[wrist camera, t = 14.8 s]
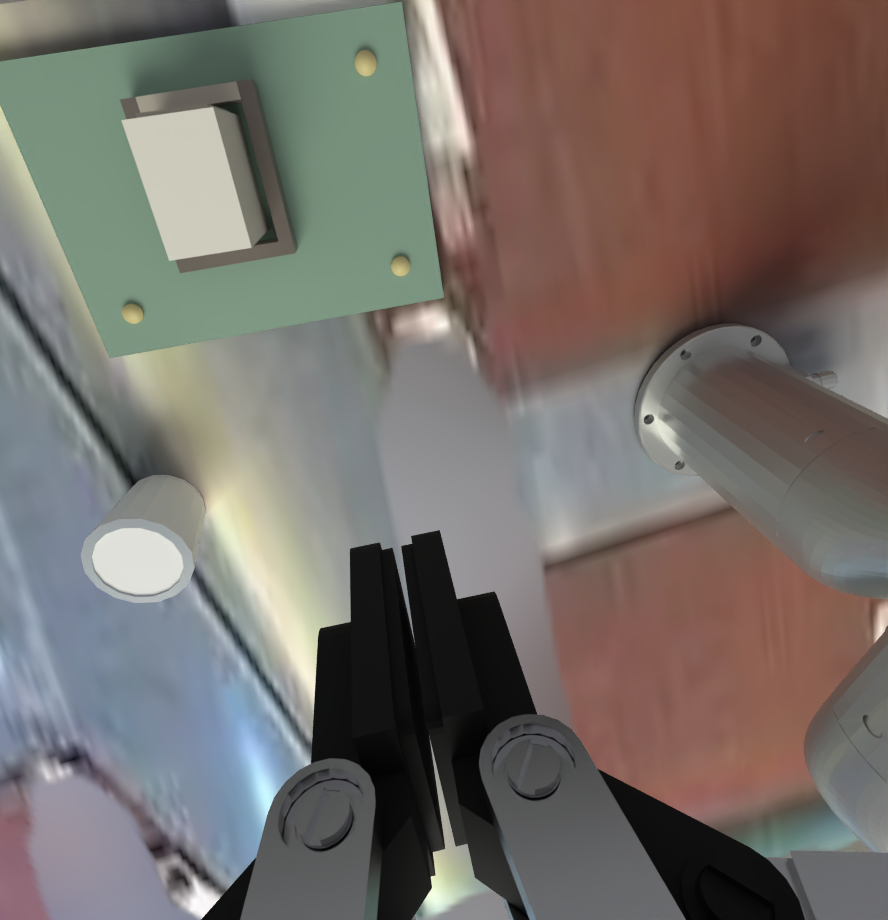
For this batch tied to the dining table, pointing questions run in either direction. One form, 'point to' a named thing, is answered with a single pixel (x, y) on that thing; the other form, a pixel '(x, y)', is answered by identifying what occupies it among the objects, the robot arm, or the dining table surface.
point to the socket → (264, 153)
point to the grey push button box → (7, 0)
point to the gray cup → (147, 541)
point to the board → (298, 160)
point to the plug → (198, 179)
